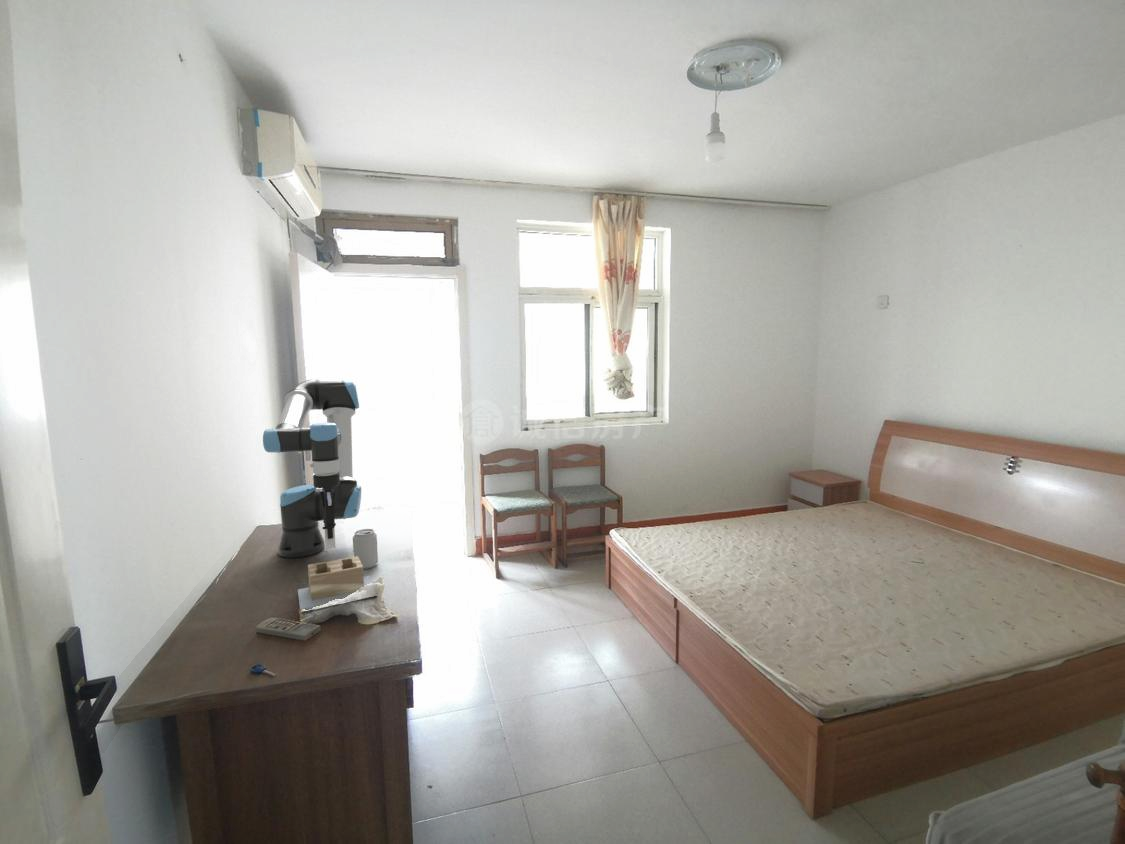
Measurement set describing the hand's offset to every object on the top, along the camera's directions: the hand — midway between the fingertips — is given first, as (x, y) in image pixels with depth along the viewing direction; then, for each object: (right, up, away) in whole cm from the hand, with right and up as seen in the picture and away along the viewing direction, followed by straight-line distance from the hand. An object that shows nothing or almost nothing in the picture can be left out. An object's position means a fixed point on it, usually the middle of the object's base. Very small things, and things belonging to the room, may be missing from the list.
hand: (330, 547), depth 162 cm
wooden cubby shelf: (+5, -10, -8) cm, 14 cm away
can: (+7, -9, +12) cm, 17 cm away
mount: (+6, -12, -10) cm, 16 cm away
